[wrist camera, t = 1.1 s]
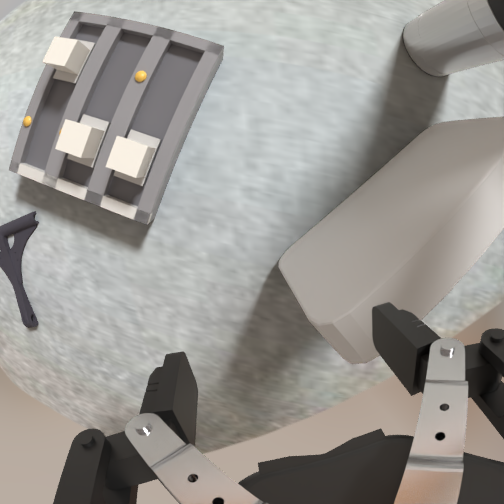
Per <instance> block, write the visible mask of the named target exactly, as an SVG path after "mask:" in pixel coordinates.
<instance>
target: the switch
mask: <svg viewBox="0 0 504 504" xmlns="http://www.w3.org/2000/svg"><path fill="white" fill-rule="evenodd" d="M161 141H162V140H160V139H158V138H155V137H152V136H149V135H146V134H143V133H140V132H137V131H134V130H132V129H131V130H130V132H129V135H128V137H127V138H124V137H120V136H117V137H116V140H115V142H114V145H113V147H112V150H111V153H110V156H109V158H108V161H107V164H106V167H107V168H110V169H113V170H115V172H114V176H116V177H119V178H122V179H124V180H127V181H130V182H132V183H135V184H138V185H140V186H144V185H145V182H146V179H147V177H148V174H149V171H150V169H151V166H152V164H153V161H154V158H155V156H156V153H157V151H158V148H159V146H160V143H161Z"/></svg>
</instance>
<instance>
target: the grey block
mask: <svg viewBox="0 0 504 504" xmlns="http://www.w3.org/2000/svg"><path fill="white" fill-rule="evenodd" d="M503 229H504V117H492V118H478V119H467V120H457V121H448V122H441V123H438V124H435V125H433V126H431V127H429V128H427V129H426V130H424V131H423V132H422V133H420V134H419V135H418V136H417V137H416V138H415V139H414V140H413V141H411V142H410V143H409V144H408V145H407V146H406V147H405V148H404V149H402V150H401V151H400V152H399V153H398V154H397V155H396V156H395V157H393V158H392V159H391V160H390V161H389V162H388V163H387V164H386V165H384V166H383V167H382V168H381V169H380V170H379V171H378V172H376V173H375V174H374V175H373V176H372V177H371V178H370V179H368V180H367V181H366V182H365V183H364V184H363V185H362V186H360V187H359V188H358V189H357V190H356V191H355V192H354V193H352V194H351V195H350V196H349V197H348V198H347V199H345V200H344V201H343V202H342V203H341V204H340V205H339V206H337V207H336V208H335V209H334V210H333V211H332V212H330V213H329V214H328V215H327V216H326V217H325V218H323V219H322V220H321V221H320V222H319V223H318V224H316V225H315V226H314V227H313V228H312V229H311V230H309V231H308V232H307V233H306V234H305V235H303V236H302V237H301V238H300V239H299V240H298V241H296V242H295V243H294V244H293V245H292V246H291V247H290V248H289V249H288V250H287V251H286V252H285V253H284V254H283V255H282V257H281V258H280V260H279V266H278V268H279V270H280V271H281V273H282V275H283V277H284V278H285V280H286V282H287V283H288V285H289V287H290V289H291V290H292V292H293V294H294V296H295V297H296V299H297V301H298V303H299V304H300V306H301V308H302V310H303V311H304V313H305V315H306V317H307V318H308V320H309V321H310V323H311V324H312V325H313V326H314V327H315V328H316V329H317V330H318V331H319V333H320V334H321V335H322V336H323V337H324V338H325V339H326V340H327V341H328V342H329V344H330V345H331V346H332V347H333V348H334V349H335V350H336V351H337V352H338V353H339V355H340V356H341V357H342V358H343V359H345V360H346V361H348V362H349V363H351V364H359V363H367V362H369V361H371V360H373V359H375V358H376V357H378V356H380V354H379V353H378V352H377V350H376V349H375V346H374V343H373V337H372V308H373V307H374V306H377V305H380V304H384V303H387V302H390V303H392V304H393V305H394V306H395V307H396V308H397V309H398V310H401V309H403V310H406V311H408V312H411V313H413V314H414V315H415V316H416V317H418V318H419V320H422V319H423V318H424V317H425V316H426V315H427V314H428V313H429V312H430V311H431V310H432V309H433V308H434V307H435V306H436V305H437V304H438V303H439V302H440V301H441V300H442V299H443V298H444V297H445V296H446V295H447V294H448V293H449V292H450V291H451V290H452V289H453V287H454V286H455V285H456V284H457V283H458V282H459V281H460V280H461V278H462V277H463V276H464V275H465V274H466V273H467V272H468V271H469V270H470V268H471V267H472V266H473V265H474V264H475V263H476V262H477V260H478V259H479V258H480V257H481V256H482V255H483V253H484V252H485V251H486V250H487V249H488V247H489V246H490V245H491V244H492V243H493V241H494V240H495V239H496V238H497V236H498V235H499V234H500V232H501V231H502V230H503Z"/></svg>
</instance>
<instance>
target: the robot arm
mask: <svg viewBox="0 0 504 504" xmlns="http://www.w3.org/2000/svg"><path fill="white" fill-rule="evenodd" d="M403 39H404V44H405V47H406V49H407V51H408V53H409V55H410V57H411V58H412V60H413V61H414V62H415V63H416V65H417V66H418V67H420V68H421V69H422V70H423V71H425V72H426V73H428V74H430V75H433V76H437V77H440V76H445V75H448V74H452V73H455V72H459V71H463V70H466V69H470V68H474V67H477V66H481V65H485V64H489V63H493V62H497V61H502V60H504V0H444V1H442V2H441V3H439V4H437V5H436V6H434V7H432V8H430V9H429V10H427V11H425V12H424V13H422V14H421V15H419V16H418V17H417V18H415V19H413V20H412V21H410V22H409V23H407V25H406V26H405V28H404V31H403ZM372 337H373V343H374V346H375V349H376V350H377V352H378V353H379V354H380V356H381V357H382V358H383V359H384V361H385V362H386V363H387V365H388V366H389V367H390V368H391V370H392V371H393V372H394V374H395V375H396V376H397V377H398V379H399V380H400V381H401V383H402V384H403V385H404V387H405V388H406V389H407V390H408V392H409V393H410V394H411V396H412V395H415V394H417V393H419V392H422V393H423V399H422V404H421V409H420V413H419V418H418V423H417V427H416V431H415V435H414V437H413V436H408V435H388V436H385V435H384V433H383V431H382V429H379V430H376V431H373V432H370V433H367V434H365V435H362V436H359V437H356V438H353V439H351V440H349V441H347V442H346V443H344V444H342V445H341V446H338V447H337V448H335V449H333V450H331V451H329V452H327V453H325V454H321V455H307V456H289V457H284V458H280V459H275V460H270V461H265V462H260V463H258V467H259V472H256V473H254V474H252V475H250V476H248V477H246V478H245V479H244V480H242V481H240V482H239V483H236V482H235V481H234V480H233V479H232V478H230V477H229V476H228V475H226V474H225V473H224V472H223V471H222V470H220V469H219V468H218V467H217V466H216V465H215V464H214V463H212V462H211V461H210V460H209V459H208V458H207V457H206V456H204V455H203V454H202V453H201V452H200V451H199V450H198V449H197V448H196V447H195V435H196V417H197V401H198V388H197V383H196V380H195V377H194V375H193V372H192V370H191V367H190V365H189V362H188V359H187V357H186V354H185V353H184V352H177V353H171V354H166V356H165V360H164V364H163V367H157V368H156V369H155V370H154V371H153V373H152V374H151V375H150V377H149V381H148V386H147V388H146V392H145V395H144V399H143V403H142V406H141V410H140V414H139V415H137V416H135V417H133V418H132V419H131V420H130V421H129V422H128V423H127V424H126V427H125V431H124V432H121V433H118V434H114V435H111V436H107V437H105V435H104V434H103V433H102V432H101V431H100V430H98V429H87V430H84V431H82V432H81V433H79V434H78V435H77V436H76V437H75V438H74V440H73V442H72V445H71V448H70V450H69V453H68V456H67V460H66V463H65V466H64V469H63V472H62V475H61V478H60V482H59V485H58V489H57V492H56V495H55V499H54V503H53V504H136V499H137V490H138V484H142V483H145V482H149V481H152V480H155V479H158V480H159V481H160V482H161V483H162V484H163V486H164V487H165V488H166V489H167V490H168V491H169V493H170V494H171V495H172V496H173V497H174V498H175V499H176V500H177V502H178V503H179V504H504V462H500V461H495V460H491V459H487V458H484V457H480V456H476V455H472V454H469V453H465V452H464V444H465V434H466V423H467V407H468V398H469V397H471V398H472V399H473V400H474V402H475V403H476V404H477V405H478V407H479V408H480V409H481V410H482V411H483V413H484V414H485V415H486V417H487V418H488V419H489V421H490V422H491V423H492V424H493V426H494V427H495V428H496V430H497V431H498V432H499V433H500V435H501V436H502V437H503V439H504V383H503V382H502V381H501V379H502V376H503V377H504V330H502V329H489V330H487V331H485V332H484V333H483V334H482V336H481V341H480V343H477V344H472V345H467V346H464V345H463V343H462V342H460V341H459V340H457V339H454V338H440V337H439V336H438V335H437V334H436V333H435V332H434V331H432V330H431V329H430V328H429V327H428V326H427V325H426V324H425V325H424V323H423V322H422V321H421V320H419V318H418V317H416V316H415V315H414V314H413V313H411V312H408V311H406V310H403V309H401V310H398V309H397V308H396V307H395V306H394V305H393V304H392V303H390V302H387V303H384V304H380V305H377V306H374V307H373V308H372Z"/></svg>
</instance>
